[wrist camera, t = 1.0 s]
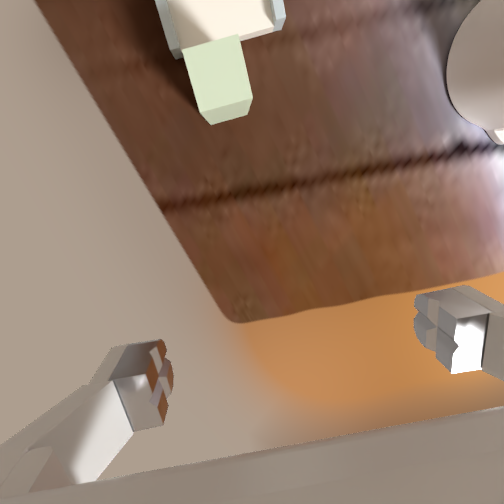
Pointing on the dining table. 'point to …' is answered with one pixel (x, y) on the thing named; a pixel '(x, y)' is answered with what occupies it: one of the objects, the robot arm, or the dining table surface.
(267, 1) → the holder
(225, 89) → the green block
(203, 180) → the dining table surface
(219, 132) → the dining table surface
